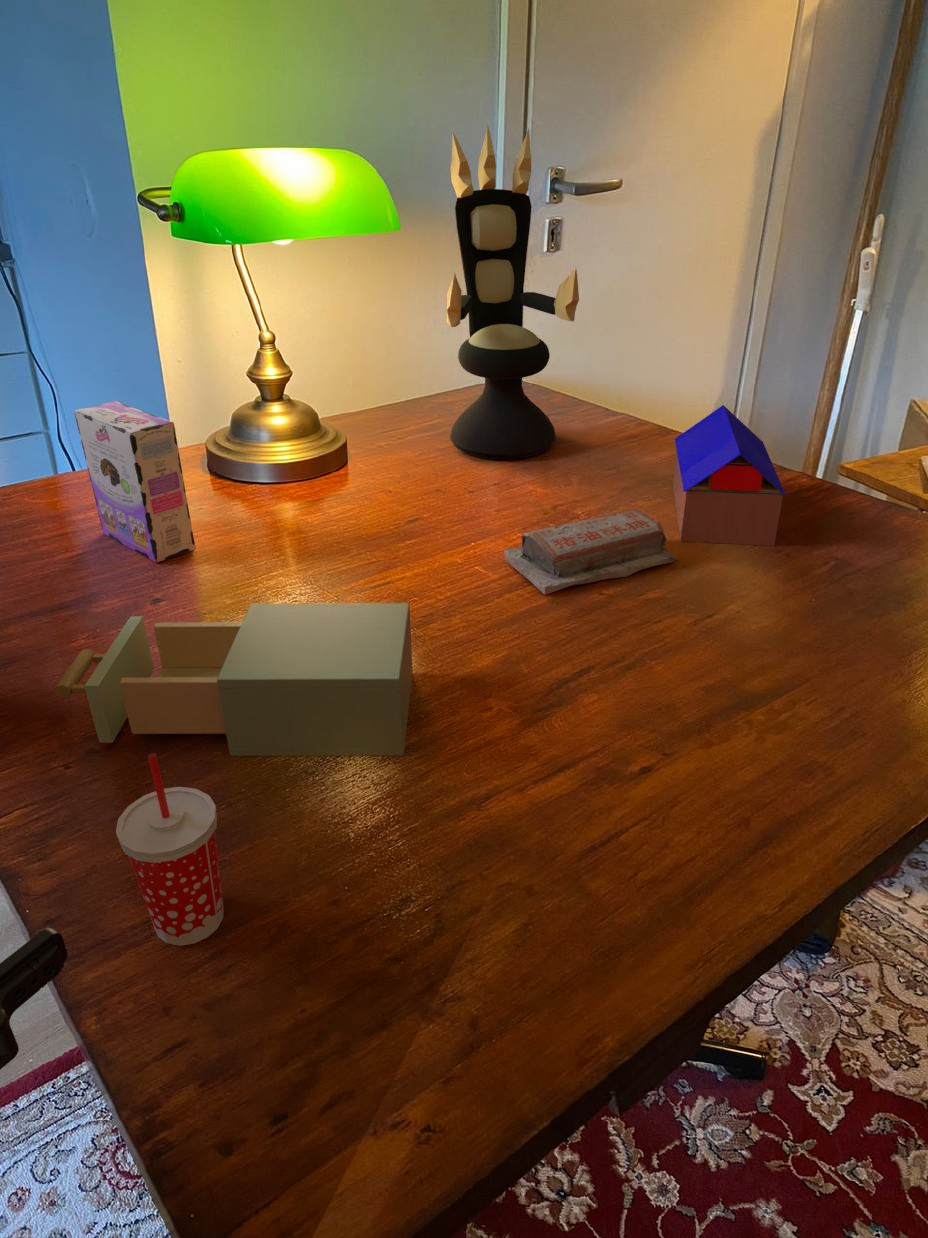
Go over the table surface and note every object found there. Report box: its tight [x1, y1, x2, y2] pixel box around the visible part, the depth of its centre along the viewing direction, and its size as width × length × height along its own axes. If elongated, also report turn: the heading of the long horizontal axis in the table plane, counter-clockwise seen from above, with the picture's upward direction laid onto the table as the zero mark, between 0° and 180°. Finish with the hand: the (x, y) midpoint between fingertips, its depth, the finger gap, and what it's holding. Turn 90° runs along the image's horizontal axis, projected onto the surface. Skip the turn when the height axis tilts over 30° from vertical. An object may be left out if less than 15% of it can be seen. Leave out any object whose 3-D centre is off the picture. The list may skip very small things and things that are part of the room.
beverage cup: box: [115, 752, 225, 947], centre depth 58 cm, size 6×6×14 cm
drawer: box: [53, 615, 243, 744], centre depth 81 cm, size 18×12×6 cm, turn 89°
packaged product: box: [503, 508, 677, 595], centre depth 107 cm, size 18×5×10 cm
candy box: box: [73, 400, 196, 564], centre depth 111 cm, size 14×6×16 cm, turn 46°
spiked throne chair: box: [446, 124, 580, 460], centre depth 136 cm, size 19×22×45 cm
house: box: [671, 404, 787, 547], centre depth 118 cm, size 12×20×12 cm, turn 172°
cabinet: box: [217, 602, 414, 757], centre depth 81 cm, size 15×13×8 cm
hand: (8, 908), depth 49 cm, fingers open, 8 cm apart
